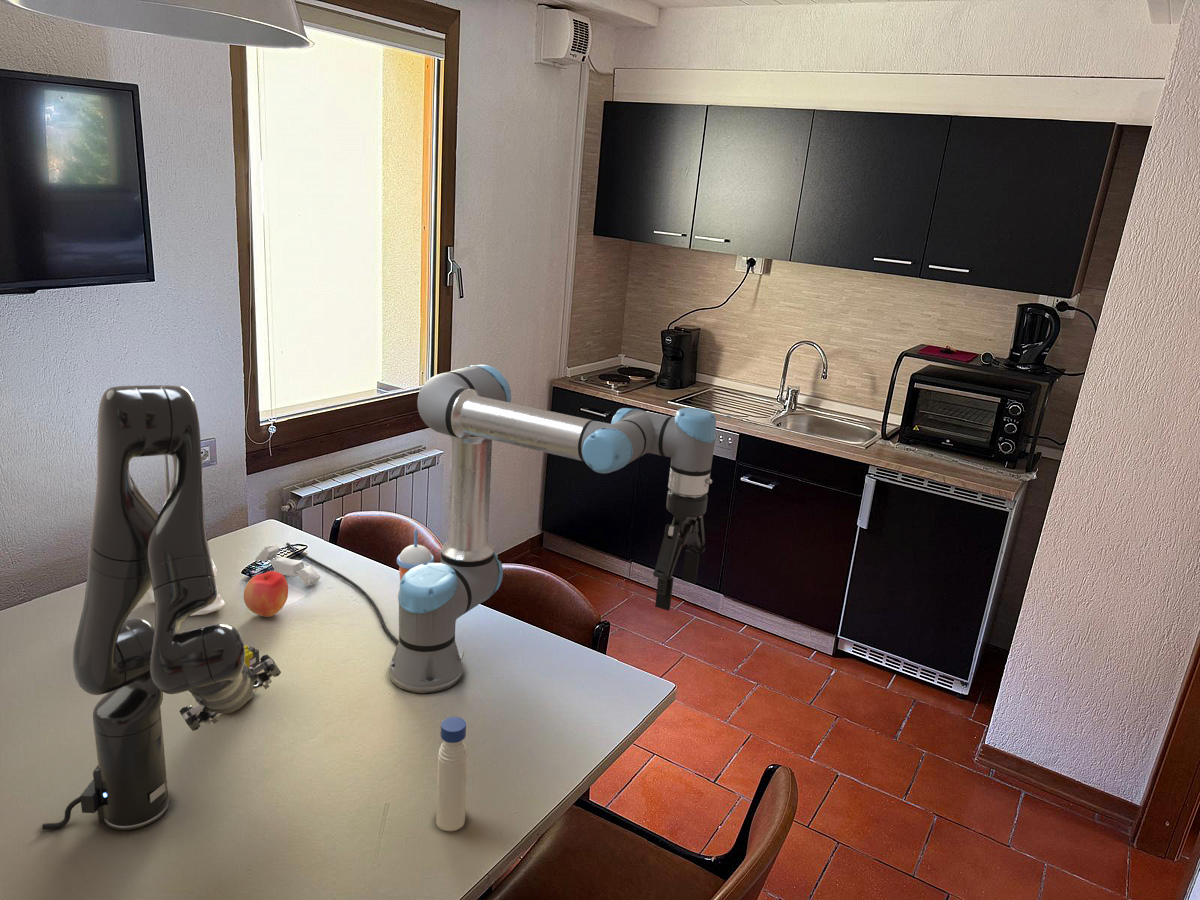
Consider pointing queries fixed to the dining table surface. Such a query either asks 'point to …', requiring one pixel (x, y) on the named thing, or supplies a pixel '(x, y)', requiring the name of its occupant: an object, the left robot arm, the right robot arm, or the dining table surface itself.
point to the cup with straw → (413, 556)
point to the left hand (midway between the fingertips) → (238, 699)
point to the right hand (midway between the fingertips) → (676, 594)
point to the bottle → (451, 786)
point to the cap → (453, 729)
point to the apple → (266, 593)
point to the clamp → (288, 565)
